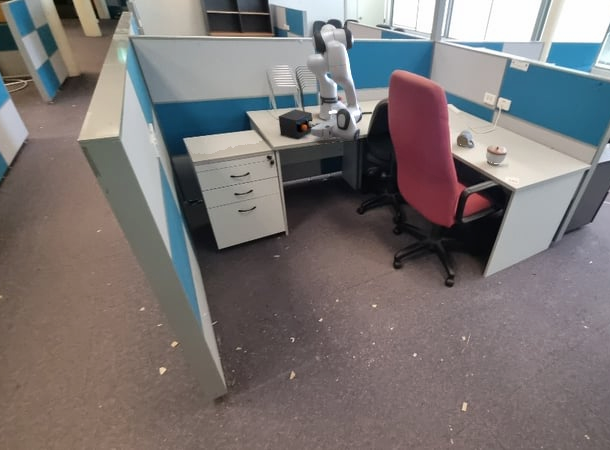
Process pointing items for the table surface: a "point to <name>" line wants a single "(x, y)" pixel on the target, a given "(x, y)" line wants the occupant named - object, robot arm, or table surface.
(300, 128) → the toaster oven
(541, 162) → the table surface
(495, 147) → the trinket box
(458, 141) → the grey rounded lump
